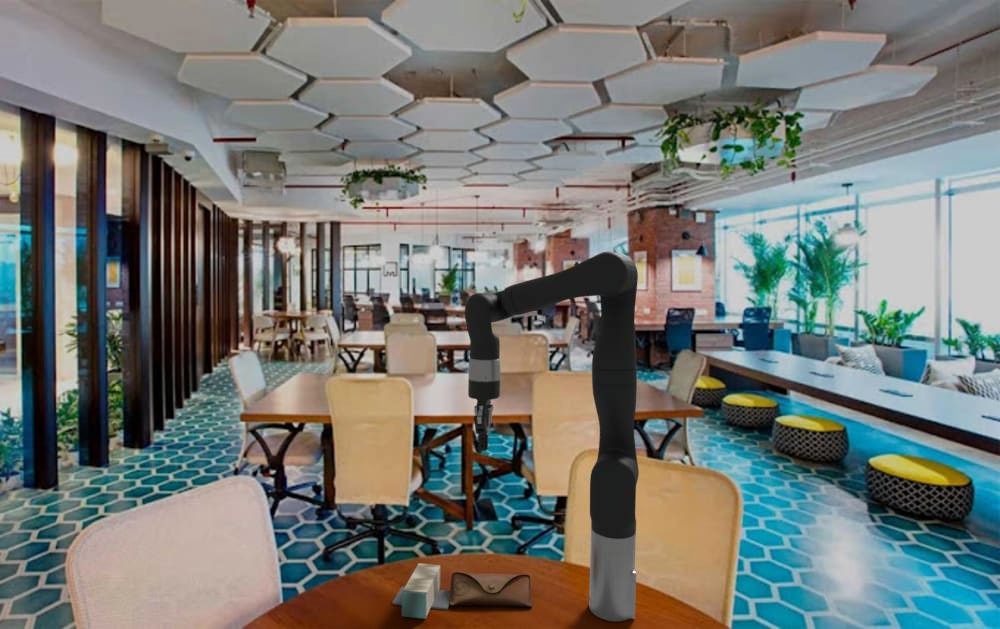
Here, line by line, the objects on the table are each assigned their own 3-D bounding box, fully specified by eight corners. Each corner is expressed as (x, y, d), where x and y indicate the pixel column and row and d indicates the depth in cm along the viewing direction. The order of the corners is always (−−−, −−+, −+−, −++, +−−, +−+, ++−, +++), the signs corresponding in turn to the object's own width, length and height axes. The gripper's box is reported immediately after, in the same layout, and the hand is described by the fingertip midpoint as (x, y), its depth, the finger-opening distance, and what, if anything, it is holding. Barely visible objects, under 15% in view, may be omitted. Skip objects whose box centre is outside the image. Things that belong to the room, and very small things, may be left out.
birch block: (440, 565, 123) (425, 594, 111) (440, 587, 123) (425, 618, 111) (418, 563, 124) (401, 592, 112) (418, 585, 124) (401, 616, 112)
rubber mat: (454, 593, 122) (454, 591, 122) (447, 609, 115) (447, 608, 115) (401, 588, 123) (401, 586, 123) (392, 604, 117) (392, 602, 117)
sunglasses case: (449, 605, 115) (450, 570, 118) (449, 606, 121) (451, 572, 124) (534, 607, 116) (534, 572, 119) (530, 607, 122) (530, 574, 125)
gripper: (496, 382, 123) (494, 459, 124) (503, 373, 136) (502, 443, 137) (463, 381, 124) (461, 457, 125) (473, 372, 137) (472, 441, 138)
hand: (483, 449), depth 131 cm, fingers closed
